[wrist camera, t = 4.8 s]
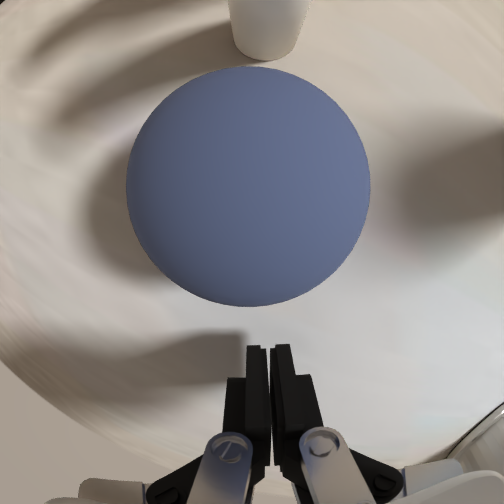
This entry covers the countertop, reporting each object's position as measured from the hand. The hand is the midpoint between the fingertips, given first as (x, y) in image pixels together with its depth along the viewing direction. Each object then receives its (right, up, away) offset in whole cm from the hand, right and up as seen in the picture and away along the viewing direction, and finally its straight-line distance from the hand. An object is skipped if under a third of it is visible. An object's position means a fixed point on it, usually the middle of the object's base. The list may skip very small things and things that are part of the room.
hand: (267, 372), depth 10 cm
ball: (-1, +7, -3) cm, 7 cm away
